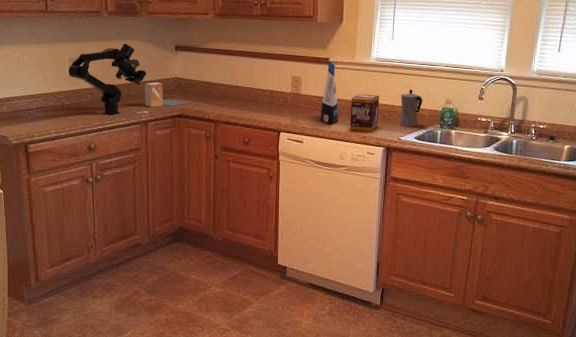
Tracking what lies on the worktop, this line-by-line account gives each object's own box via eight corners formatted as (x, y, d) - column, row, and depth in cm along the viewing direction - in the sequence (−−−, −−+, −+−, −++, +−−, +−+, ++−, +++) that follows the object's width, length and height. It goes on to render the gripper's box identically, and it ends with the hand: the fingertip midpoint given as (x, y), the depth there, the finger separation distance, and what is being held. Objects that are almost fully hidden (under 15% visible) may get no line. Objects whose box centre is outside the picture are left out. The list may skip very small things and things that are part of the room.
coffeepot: (393, 123, 311) (395, 88, 306) (407, 121, 315) (409, 87, 310) (412, 128, 298) (415, 92, 293) (426, 127, 302) (429, 91, 297)
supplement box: (349, 129, 293) (351, 97, 289) (357, 124, 307) (359, 93, 303) (370, 131, 289) (372, 99, 285) (377, 125, 303) (379, 95, 299)
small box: (151, 107, 344) (150, 84, 341) (145, 105, 349) (144, 83, 345) (163, 105, 350) (162, 83, 346) (157, 104, 354) (156, 82, 351)
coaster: (141, 114, 321) (141, 113, 321) (131, 113, 325) (131, 112, 324) (150, 112, 327) (150, 111, 327) (141, 111, 330) (141, 110, 330)
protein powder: (323, 124, 303) (325, 65, 295) (317, 116, 327) (319, 60, 319) (341, 124, 304) (344, 65, 296) (335, 116, 327) (337, 60, 319)
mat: (171, 106, 349) (171, 105, 349) (148, 103, 358) (148, 102, 357) (189, 102, 362) (189, 102, 362) (166, 99, 371) (166, 99, 371)
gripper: (143, 55, 323) (158, 74, 335) (118, 53, 332) (133, 72, 344) (133, 71, 318) (148, 90, 330) (108, 69, 328) (124, 87, 340)
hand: (139, 84), depth 336 cm, fingers closed
